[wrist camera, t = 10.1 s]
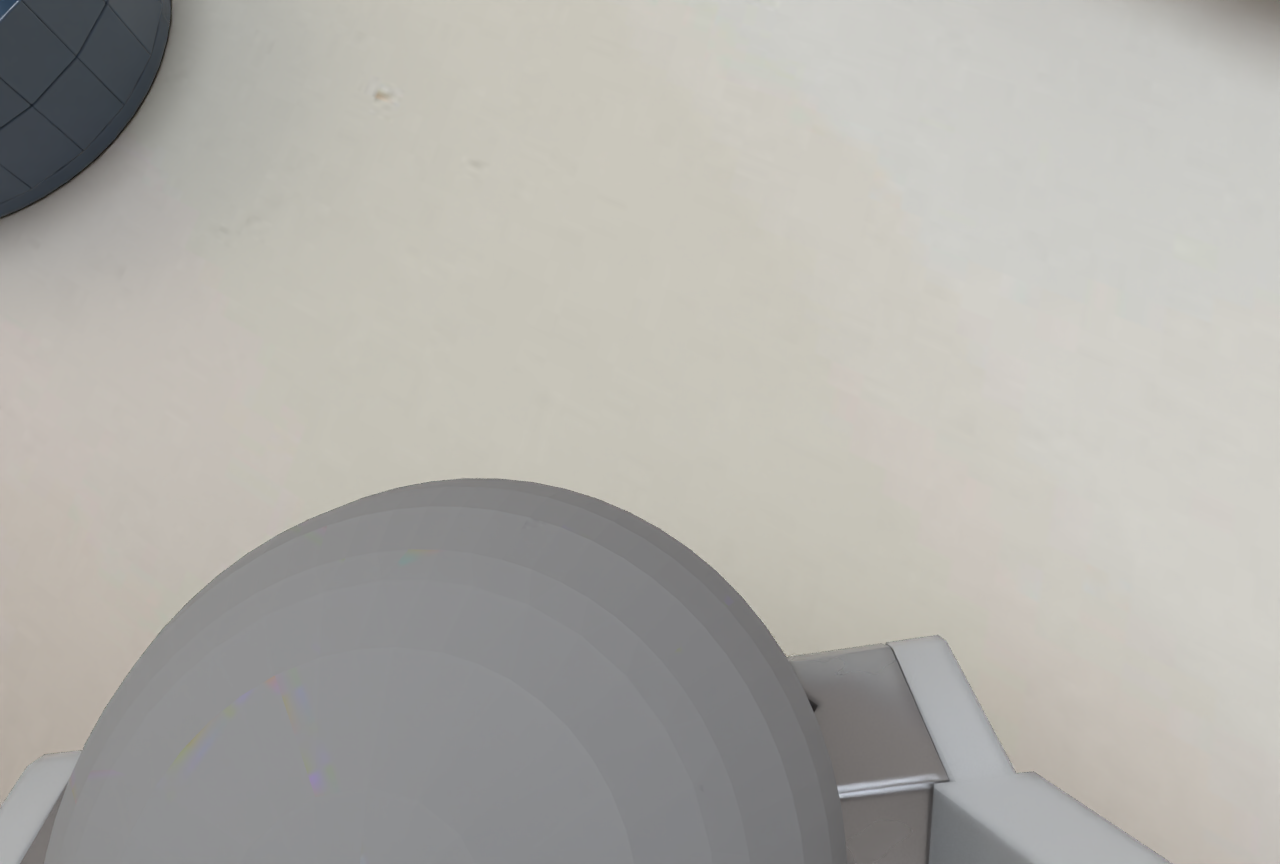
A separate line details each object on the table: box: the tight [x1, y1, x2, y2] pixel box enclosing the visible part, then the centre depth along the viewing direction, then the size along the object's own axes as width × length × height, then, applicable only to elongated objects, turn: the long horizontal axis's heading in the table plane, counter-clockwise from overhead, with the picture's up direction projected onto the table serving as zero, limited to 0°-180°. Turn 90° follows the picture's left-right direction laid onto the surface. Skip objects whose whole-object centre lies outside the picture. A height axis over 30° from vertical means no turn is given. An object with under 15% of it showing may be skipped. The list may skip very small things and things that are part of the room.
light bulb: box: [44, 478, 847, 864], centre depth 9 cm, size 6×5×10 cm
